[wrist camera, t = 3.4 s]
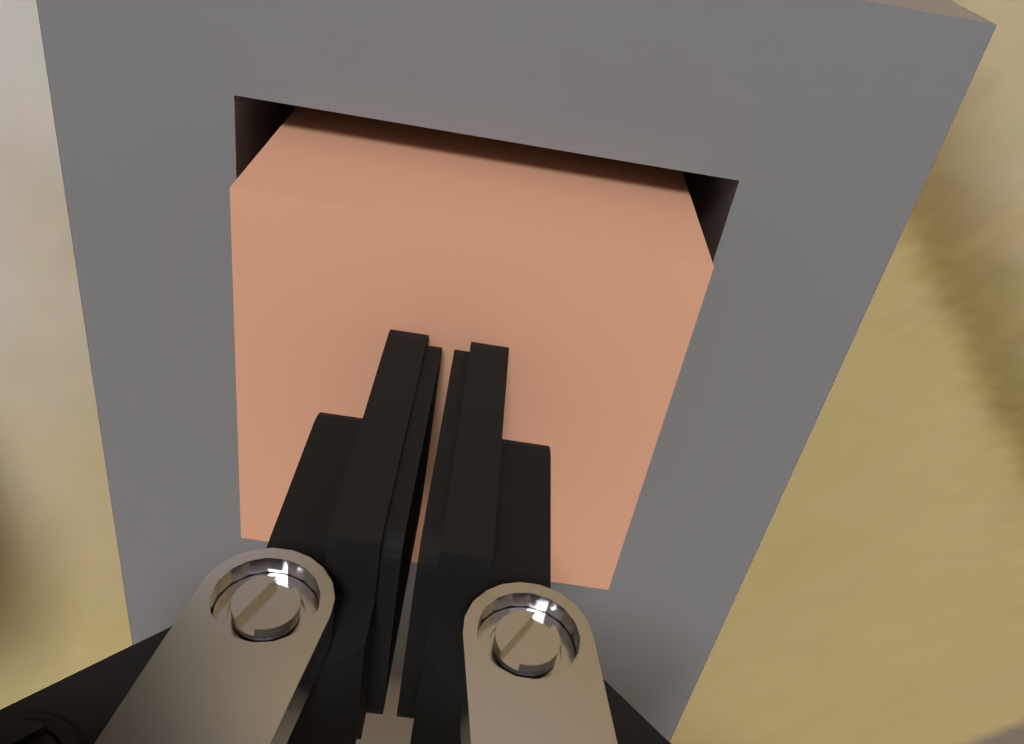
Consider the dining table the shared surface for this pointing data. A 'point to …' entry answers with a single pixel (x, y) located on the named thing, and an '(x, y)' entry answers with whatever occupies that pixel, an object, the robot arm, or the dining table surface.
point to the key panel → (525, 120)
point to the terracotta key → (464, 303)
